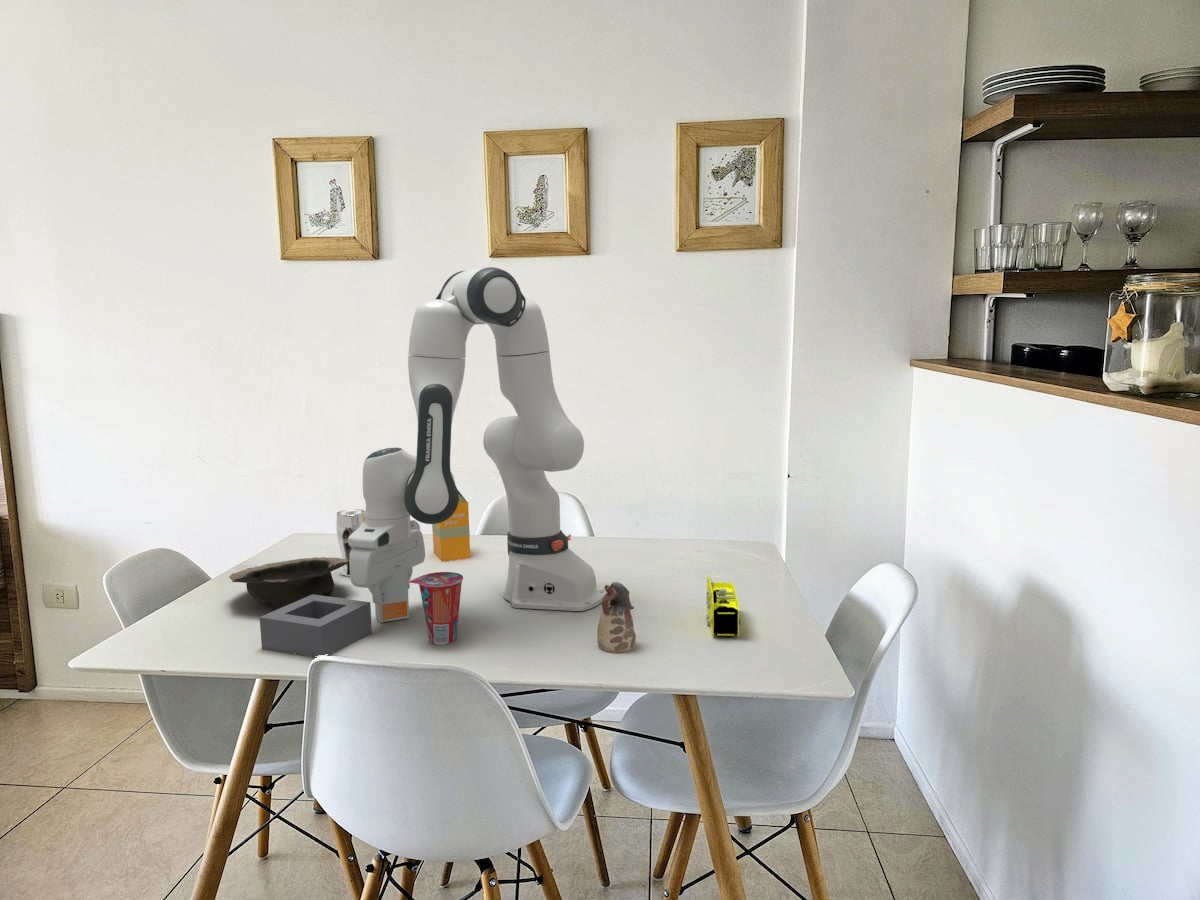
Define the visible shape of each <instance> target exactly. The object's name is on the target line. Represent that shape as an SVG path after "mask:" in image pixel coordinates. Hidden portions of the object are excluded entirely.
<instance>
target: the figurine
mask: <svg viewBox="0 0 1200 900" xmlns="http://www.w3.org/2000/svg"><path fill="white" fill-rule="evenodd" d="M603 588H604V589H605V590H606V592H607V594H606V595H605V596H604V598H603V601H602V602H601V608H602V609H601V612H600V615H599V620H598V625H597V633H596V638H597V644H598V645H597V646H598V648H599V649H600V650H602V651H604V652H606V653H613V654H619V653H620V654H623V653H628V652H632V651H633V650H634V649H635V646H636V644H637V642H636V641H637V638H636V637H637V636H636V635H637V634H636V632H635V627H634V626H635V625H634V621H633V616H632V613H631V610H634V609H635V607H634V605H633V604H632V602H631V600H630V590H629V589H628V588H627V587H626V586H624V584H623V583H621V582H618V581H614V582H611V584H605V585H604V586H603Z"/></svg>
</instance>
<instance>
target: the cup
mask: <svg viewBox="0 0 1200 900" xmlns="http://www.w3.org/2000/svg"><path fill="white" fill-rule="evenodd" d="M463 579H464V576H463V575H462V574H461V573H458V572H451V571H439V572H438V571H436V572H431V573H426V574H423V575H420V576H417V577H415V578H412V579H410V581H409V583H410V584H417V585H418V586H419V591H420V596H421V603H422V608H423V613H424V620H425V624H426V630H427V636H428V641H429V643H430V644H433V645H435V646H436V645H437V646H439V645H440V646H442V645H443V646H445V645H448V644H452V643H454V642H456V641H457V638H458V627H459V616H460V614H459V613H460V604H461V603H460V602H461V594H462V585H463V584H462V583H463Z"/></svg>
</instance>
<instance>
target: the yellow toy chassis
mask: <svg viewBox="0 0 1200 900" xmlns="http://www.w3.org/2000/svg"><path fill="white" fill-rule="evenodd" d="M706 579H707V580H706V582H707V583H706V584H707V585H706V588H707V589H706V608H707V609H706V610H707V613H706V621H707V624H706V625H707V626H710V629H711V631H710V632H711V636H712V637H715V636H717V637H723V638H724V637H728V638H731V637H732V638H733V637H735V636H736V635H737V637H739V636H740V626H741V618H740V606H739V599H738V598H739V597H738V595H737V592H736V588H735V585H734V582H733V580H731V581H730V584H729V583H728V582H714V578H713V577H710V574H707V577H706ZM714 635H715V636H714Z"/></svg>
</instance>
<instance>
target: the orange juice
mask: <svg viewBox="0 0 1200 900" xmlns="http://www.w3.org/2000/svg"><path fill="white" fill-rule="evenodd" d="M457 490H458V495H459V502H458V506H457V508H456V510H455V512H454V513H453V515H452V516H451V517H450V518H448V519H447V520H445V521H443V522H441V523H437V524H431V527H432V530H431V532H432V543H433V544H432V545H433V547H432V548H433V549H432V550H433V554H435V555H436V556H437V557H438V558H439V559H440V560H441V561H445V562H450V561H449V560H452V561H459V560H458V559H460V560H465V559H466V558H468V559H471V545H470V544H471V542H470V540H471V538H470V535H471V534H470V533H471V532H470V517H469V515H470V514H469V511H470V510H469V502H468V501H467V500H466V498H465V497H464V496H463V494H462V493H461V492H460V491H459V489H458V488H457ZM435 555H434V556H435ZM436 556H435V557H436ZM437 557H436V558H437ZM438 558H437V559H438ZM439 559H438V560H439ZM440 560H439V561H440ZM441 561H440V562H441Z"/></svg>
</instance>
